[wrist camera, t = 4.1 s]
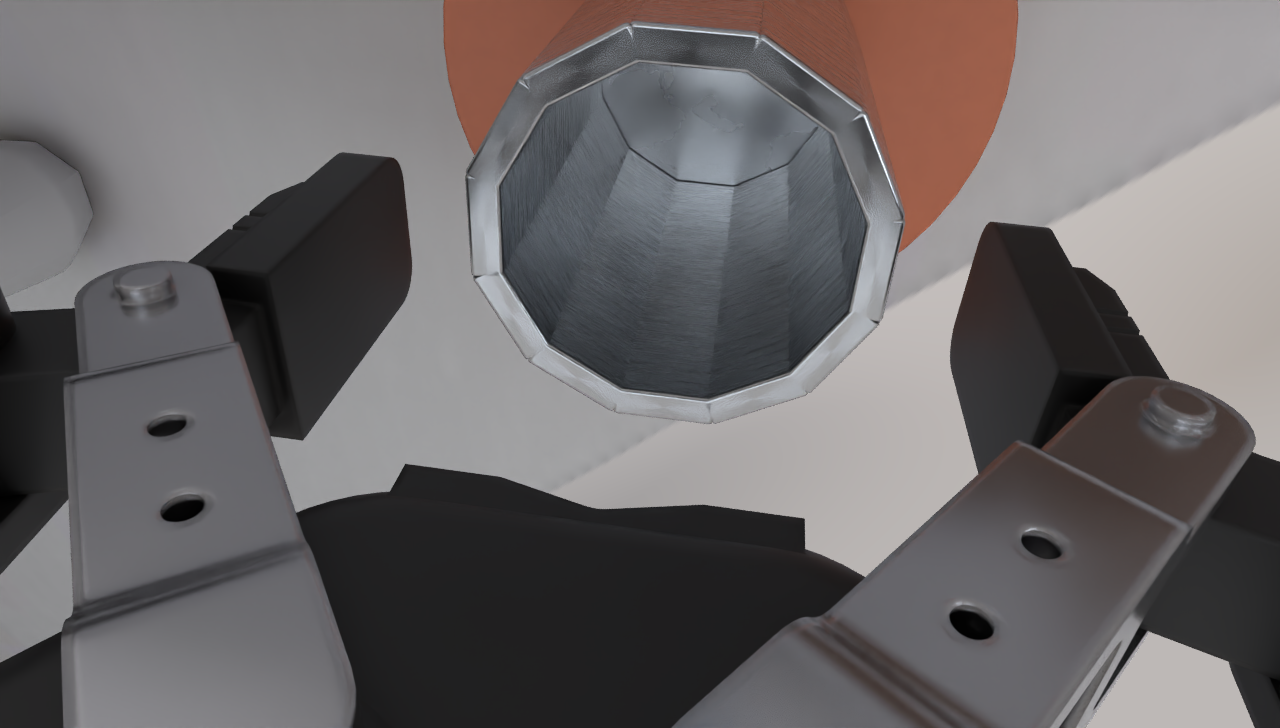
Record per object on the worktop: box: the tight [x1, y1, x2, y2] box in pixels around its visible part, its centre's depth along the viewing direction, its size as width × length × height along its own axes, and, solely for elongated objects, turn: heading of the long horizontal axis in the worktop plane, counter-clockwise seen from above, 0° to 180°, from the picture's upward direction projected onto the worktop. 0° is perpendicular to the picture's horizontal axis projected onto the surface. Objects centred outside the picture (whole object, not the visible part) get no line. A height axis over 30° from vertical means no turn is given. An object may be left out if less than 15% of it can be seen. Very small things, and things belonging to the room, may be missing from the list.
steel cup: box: [465, 0, 905, 424], centre depth 16 cm, size 6×6×9 cm
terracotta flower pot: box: [443, 0, 1018, 253], centre depth 24 cm, size 15×15×10 cm
